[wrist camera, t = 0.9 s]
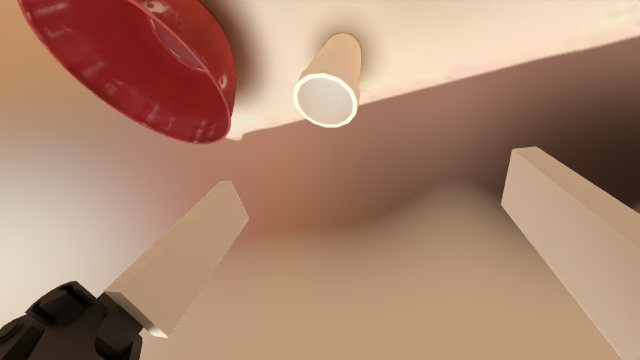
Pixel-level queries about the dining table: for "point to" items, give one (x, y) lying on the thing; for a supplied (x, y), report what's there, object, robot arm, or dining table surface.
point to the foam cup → (331, 83)
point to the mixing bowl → (145, 60)
